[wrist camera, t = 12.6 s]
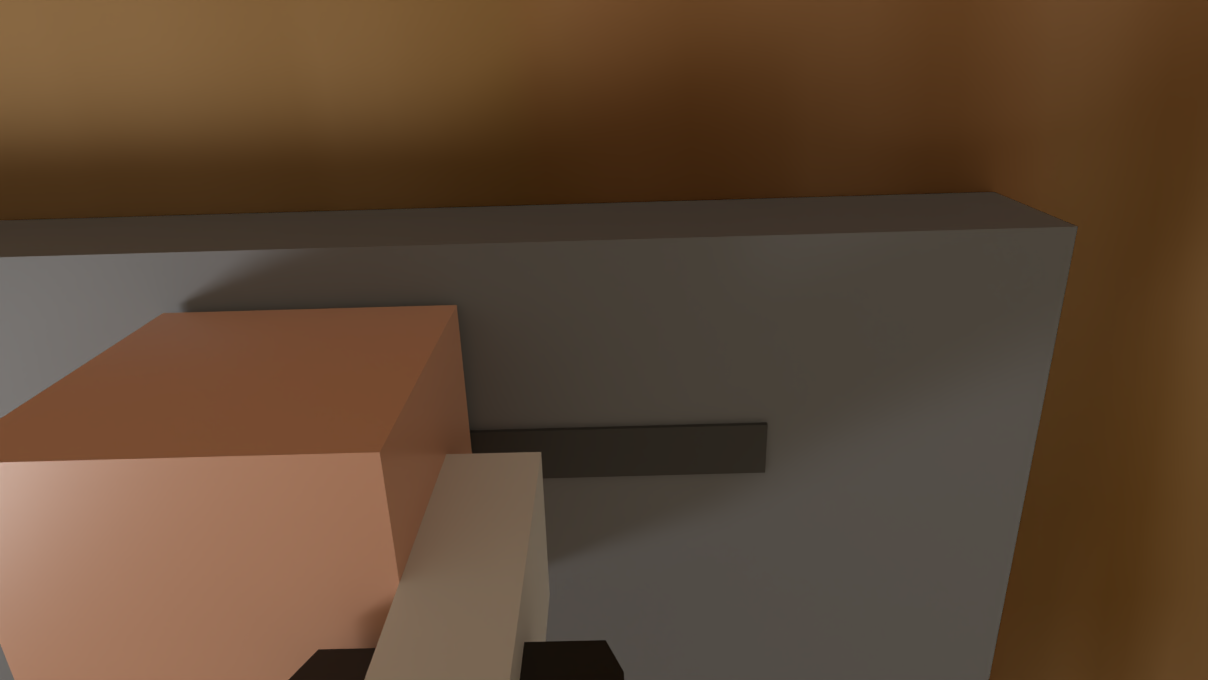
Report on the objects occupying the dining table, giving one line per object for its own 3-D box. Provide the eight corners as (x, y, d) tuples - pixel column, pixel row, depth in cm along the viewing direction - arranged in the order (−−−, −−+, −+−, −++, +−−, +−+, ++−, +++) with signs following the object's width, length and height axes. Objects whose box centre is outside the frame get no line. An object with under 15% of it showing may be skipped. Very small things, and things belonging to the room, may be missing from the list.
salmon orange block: (234, 598, 16) (77, 841, 11) (163, 313, 13) (-70, 464, 9) (485, 592, 16) (437, 832, 11) (456, 305, 13) (379, 452, 9)
